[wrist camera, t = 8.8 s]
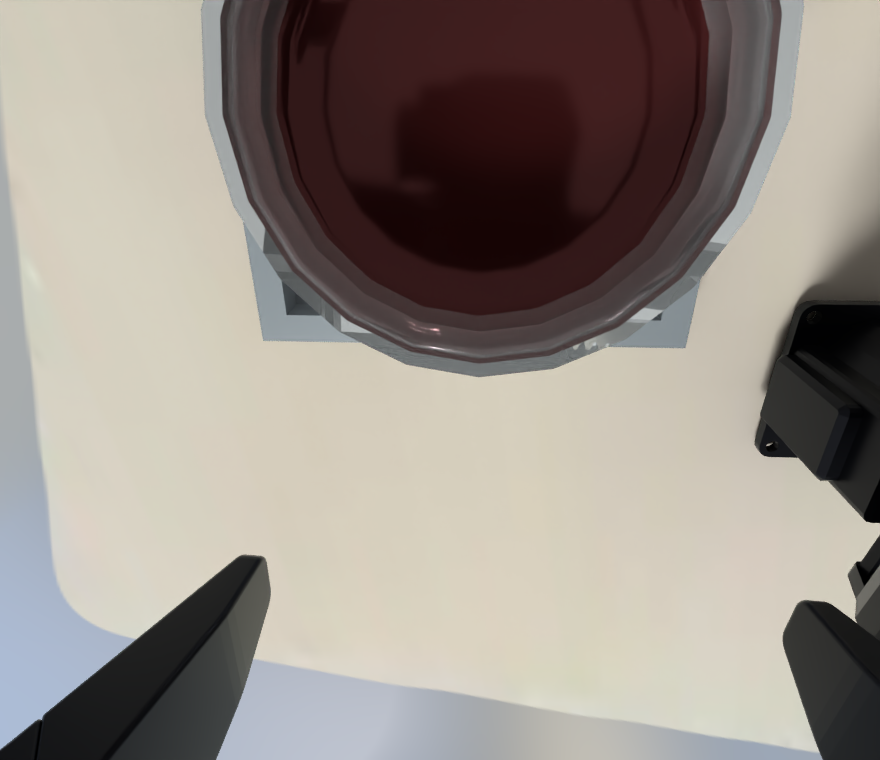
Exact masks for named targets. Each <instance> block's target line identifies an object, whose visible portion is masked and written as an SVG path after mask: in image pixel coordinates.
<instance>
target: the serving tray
mask: <svg viewBox="0 0 880 760" xmlns="http://www.w3.org/2000/svg"><path fill="white" fill-rule="evenodd" d="M243 224H244V230H245V236H246V241H247V247H248V253H249V259H250V265H251V271H252V277H253V283H254V289H255V295H256V301H257V307H258V312H259V318H260V324H261V330H262V336H263V341H305V342H359V341H357V340H355V339H353V338H351V337H349V336H347V335H345V334H343V333H341V332H339V331H338V330H337V329H335V328H334V327H333V326H332V325H331V324H330V323H329V322H328V321H327V320H325V319H324V318H323V317H322V316H321V315H320V314H319V313H318V312H316V311H315V310H314V309H313V308H312V307H311V306H310V305H309V304H308V303H306V302H305V301H304V300H303V299H302V298H301V297H300V296H299V295H297V294H296V293H295V292H294V291H293V290H292V289H291V288H290V287H289V286H287V285H286V284H285V283H284V282H283V281H282V280H281V279H280V278H279V276H278V275H277V273H276V272H275V270H274V269H273V267H272V266H271V264H270V262H269V261H268V259H267V258H266V256H265V255H264V253H263V251H262V250H261V248H260V247H259V245H258V244H257V242H256V241H255V239H254V237H253V236H252V234H251V233H250V231H249V230H248V228H247V226H246V225H245V223H244V222H243ZM699 283H700V280H699V281H698V282H697V284H696V285H695V286H694V288H692V289H691V290H690V291H688V292H687V293H686V294H684V295H683V296H682V297H681V298H679V299H678V300H677V301H675V302H674V303H673V304H671V305H670V306H669V307H667V308H666V309H665V310H664V311H662V312H661V313H660V314H658V315H657V316H656V317H654V318H653V319H652V320H650V321H649V322H648V323H647V324H645V325H644V326H643V327H641V328H640V329H639V330H637V331H636V332H635V333H633V334H632V335H631V336H630V337H628V338H627V339H625V340H623V341H620V342H618V343H616V344H613V345H611V346H608V347H649V348H685V347H686V343H687V338H688V334H689V329H690V324H691V320H692V315H693V311H694V306H695V302H696V297H697V292H698V288H699Z"/></svg>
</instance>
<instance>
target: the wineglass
mask: <svg viewBox="0 0 880 760" xmlns="http://www.w3.org/2000/svg"><path fill="white" fill-rule="evenodd" d="M803 10H804V3H803V0H203V4H202V8H201V19H202V46H203V74H204V101H205V117H206V120H207V123H208V126H209V129H210V133H211V136H212V139H213V142H214V145H215V149H216V152H217V155H218V158H219V161H220V165H221V168H222V171H223V174H224V177H225V181H226V184H227V187H228V190H229V193H230V197H231V200H232V203H233V206H234V208H235V209H236V211H237V212H238V214H239V216H240V217H241V219H242V220H243V222H244V223H245V225H246V226H247V228H248V230H249V231H250V233H251V234H252V236H253V237H254V239H255V241H256V242H257V244H258V245H259V247H260V248H261V250H262V251H263V253H264V255H265V256H266V258H267V259H268V261H269V262H270V264H271V266H272V267H273V269H274V270H275V272H276V273H277V275H278V276H279V278H280V279H281V280H282V281H283V282H284V283H285V284H286V285H287V286H289V287H290V288H291V289H292V290H293V291H294V292H295V293H296V294H297V295H299V296H300V297H301V298H302V299H303V300H304V301H305V302H306V303H308V304H309V305H310V306H311V307H312V308H313V309H314V310H315V311H316V312H318V313H319V314H320V315H321V316H322V317H323V318H324V319H325V320H327V321H328V322H329V323H330V324H331V325H332V326H333V327H334V328H335V329H337V330H338V331H339V332H341V333H343V334H345V335H347V336H349V337H351V338H353V339H355V340H357V341H359V342H361V343H363V344H365V345H367V346H369V347H371V348H373V349H375V350H378V351H380V352H382V353H384V354H386V355H388V356H390V357H392V358H394V359H396V360H398V361H400V362H402V363H404V364H406V365H412V366H417V367H423V368H429V369H435V370H441V371H446V372H452V373H458V374H464V375H470V376H475V377H484V376H493V375H502V374H511V373H520V372H529V371H538V370H547V369H554V368H556V367H559V366H561V365H564V364H566V363H569V362H571V361H574V360H576V359H579V358H581V357H584V356H586V355H588V354H591V353H593V352H596V351H598V350H601V349H603V348H606V347H608V346H611V345H613V344H616V343H618V342H620V341H623V340H625V339H627V338H628V337H630V336H631V335H632V334H633V333H635V332H636V331H637V330H639V329H640V328H641V327H643V326H644V325H645V324H647V323H648V322H649V321H650V320H652V319H653V318H654V317H656V316H657V315H658V314H660V313H661V312H662V311H664V310H665V309H666V308H667V307H669V306H670V305H671V304H673V303H674V302H675V301H677V300H678V299H679V298H681V297H682V296H683V295H684V294H686V293H687V292H688V291H690V290H691V289H692V288H694V286H695V285H696V284H697V282H698V281H699V280H700V279H701V277H702V276H703V275H704V273H705V272H706V271H707V269H708V268H709V267H710V266H711V264H712V263H713V262H714V260H715V259H716V258H717V256H718V255H719V254H720V253H721V251H722V250H723V249H724V247H725V246H726V245H727V243H728V242H729V241H730V240H731V238H732V237H733V236H734V234H735V233H736V232H737V230H738V229H739V228H740V227H741V225H742V224H743V223H744V221H745V220H746V219H747V217H748V216H749V215H750V214H751V212H752V209H753V207H754V204H755V202H756V199H757V197H758V195H759V192H760V190H761V187H762V185H763V183H764V180H765V178H766V175H767V173H768V171H769V168H770V166H771V163H772V161H773V159H774V156H775V154H776V151H777V149H778V146H779V144H780V142H781V139H782V137H783V134H784V132H785V130H786V127H787V125H788V122H789V120H790V118H791V109H792V101H793V93H794V84H795V76H796V68H797V60H798V51H799V43H800V35H801V26H802V18H803Z"/></svg>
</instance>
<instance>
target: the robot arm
mask: <svg viewBox="0 0 880 760" xmlns="http://www.w3.org/2000/svg"><path fill="white" fill-rule="evenodd" d="M813 311H816V314H815V316H814V317H813V318H812V319H810V320H807V317H808V315H809V314H810V313H811V312H813ZM760 415H761V417H762V419H761V423H760V426H759V429H758V432H757V436H756V439H755V446H756V448H757V449H758V451H759V452H760V453H761V454H762V455H764V456H767V457H793V458H799V459H800V460H801V461H802V462H803V463H804V464H805V466H806V467H807V468H808V469H809V470H810V471H811V472H812V473H813V474H814V475H815V476H816V478H817V479H819V480H820V481H829V482H830V484H831V485H832V486H833V487H834V488H835V489H836V490H837V491H838V492H839V493H840V494H841V495H842V496H843V497H844V498H845V500H846V501H847V502H848V503H849V504H850V505H851V506H852V507H853V508H854V509H855V510H856V511H857V512H858V513H859V514H860V516H861V517H862V518H863V519H864V520H865V521H866V522H870V523H880V301H807V302H805V303H803V304H801V305H800V306H799V307H798V308H797V309H796V311H795V313H794V315H793V319H792V322H791V325H790V328H789V332H788V335H787V338H786V341H785V345H784V348H783V351H782V354H781V356H780V358H779V359H778V360H777V361H776V364H775V367H774V371H773V374H772V377H771V380H770V384H769V387H768V390H767V393H766V397H765V400H764V403H763V407H762V410H761V413H760ZM772 441H774V442H773V444H771V445H770V446H766V445H767V444H768V443H769V442H772ZM848 578H849V581H850V584H851V586H852V589H853V592H854V595H855V598H856V613H855V619H856V621H857V623H856V622H854V621H853V620H852V619H850V618H849V617H848V616H846V615H845V614H844V613H842V612H841V611H840V610H838V609H837V608H836V607H834V606H833V605H831V604H829V603H827V602H822V601H809V600H803V601H801V602H799V603H798V604H797V605H796V607H795V609H794V611H793V613H792V615H791V618H790V620H789V622H788V624H787V626H786V628H785V630H784V632H783V646H784V650H785V653H786V656H787V659H788V662H789V665H790V668H791V671H792V674H793V677H794V680H795V683H796V686H797V689H798V692H799V695H800V698H801V701H802V704H803V707H804V710H805V713H806V716H807V719H808V722H809V725H810V728H811V731H812V733H813V736H814V739H815V741H816V744H817V747H818V749H819V751H820V754H821V756H822V759H823V760H880V535H879V537H878V538H877V540H876V541H875V543H874V544H873V545H872V547H871V548H870V550H869V551H868V553H867V554H866V556H865V557H864V558H863V560H862V561H861V562H856V563H855V564H854V566H853V567H852V569H851V570H850V572H849V573H848ZM270 596H271V588H270V581H269V575H268V568H267V562H266V559H265V558H264V557H262V556H256V555H241V556H239V557H237V558H236V559H235V560H233V561H232V562H231V563H230V564H228V565H227V566H226V567H225V568H224V569H222V570H221V571H220V572H219V573H217V574H216V575H215V576H214V577H212V578H211V579H210V580H209V581H208V582H206V583H205V584H204V585H203V586H201V587H200V588H199V589H198V590H197V591H195V592H194V593H193V594H192V595H190V596H189V597H188V598H187V599H185V600H184V601H183V602H182V603H181V604H179V605H178V606H177V607H176V608H174V609H173V610H172V611H171V612H169V613H168V614H167V615H166V616H165V617H163V618H162V619H161V620H160V621H158V622H157V623H156V624H155V625H153V626H152V627H151V628H150V629H149V630H147V631H146V632H145V633H144V634H142V635H141V636H140V637H139V638H137V639H136V640H135V641H134V642H133V643H131V644H130V645H129V646H128V647H126V648H125V649H124V650H123V651H122V652H120V653H119V654H118V655H117V656H115V657H114V658H113V659H112V660H111V661H109V662H108V663H107V664H106V665H104V666H103V667H102V668H101V669H100V670H98V671H97V672H96V673H95V674H93V675H92V676H91V677H90V678H88V679H87V680H86V681H85V682H83V683H82V684H81V685H80V686H78V687H77V688H76V689H75V690H74V691H72V692H71V693H70V694H69V695H67V696H66V697H65V698H64V699H63V700H61V701H60V702H59V703H58V704H57V705H55V706H54V707H53V708H51V709H50V710H49V711H48V712H47V713H45V714H44V716H43V718H42V720H40V719H39V720H37V721H35V722H34V723H33V724H31V725H30V726H29V727H28V728H27V729H25V730H24V731H23V732H22V733H20V734H19V735H18V736H17V737H16V738H14V739H13V740H12V741H11V742H9V743H8V744H7V745H6V746H4V747H3V748H2V749H1V750H0V760H216V758H217V756H218V753H219V751H220V749H221V746H222V744H223V741H224V739H225V736H226V734H227V731H228V729H229V726H230V724H231V722H232V719H233V717H234V714H235V712H236V709H237V707H238V704H239V701H240V699H241V696H242V693H243V690H244V687H245V684H246V681H247V678H248V674H249V671H250V668H251V664H252V661H253V657H254V654H255V650H256V647H257V644H258V640H259V637H260V633H261V630H262V626H263V623H264V620H265V616H266V613H267V609H268V606H269V602H270Z"/></svg>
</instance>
